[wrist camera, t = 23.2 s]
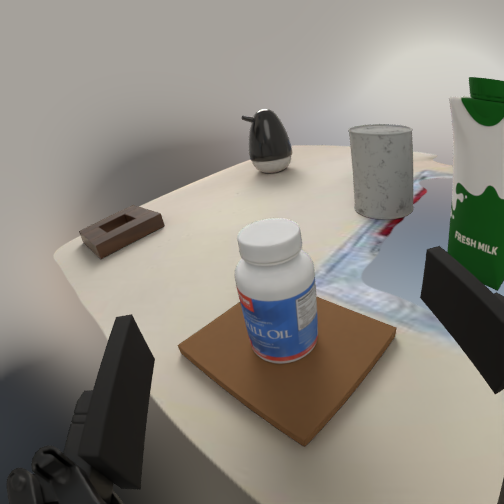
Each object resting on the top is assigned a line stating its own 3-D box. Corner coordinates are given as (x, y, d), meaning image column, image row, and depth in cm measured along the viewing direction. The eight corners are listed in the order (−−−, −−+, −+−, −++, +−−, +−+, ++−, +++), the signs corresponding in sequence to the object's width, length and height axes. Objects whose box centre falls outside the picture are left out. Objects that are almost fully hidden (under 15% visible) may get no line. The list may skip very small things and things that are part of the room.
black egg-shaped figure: (254, 168, 80) (243, 111, 73) (294, 162, 78) (285, 104, 71) (249, 178, 71) (237, 114, 64) (295, 173, 69) (285, 107, 62)
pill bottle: (237, 352, 24) (206, 243, 20) (274, 312, 28) (255, 210, 23) (298, 375, 21) (282, 258, 16) (330, 328, 25) (323, 217, 20)
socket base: (83, 242, 56) (78, 231, 55) (136, 215, 63) (133, 204, 62) (100, 259, 47) (95, 245, 46) (164, 226, 55) (160, 213, 53)
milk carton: (435, 268, 30) (438, 74, 20) (465, 238, 33) (468, 79, 24) (502, 299, 23) (528, 84, 14) (521, 261, 27) (537, 89, 17)
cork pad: (180, 353, 26) (177, 345, 26) (273, 286, 33) (271, 278, 33) (304, 447, 17) (304, 440, 16) (395, 336, 23) (396, 327, 23)
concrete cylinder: (356, 221, 43) (350, 135, 37) (352, 197, 51) (346, 125, 45) (420, 218, 40) (420, 133, 35) (406, 195, 48) (403, 123, 43)
